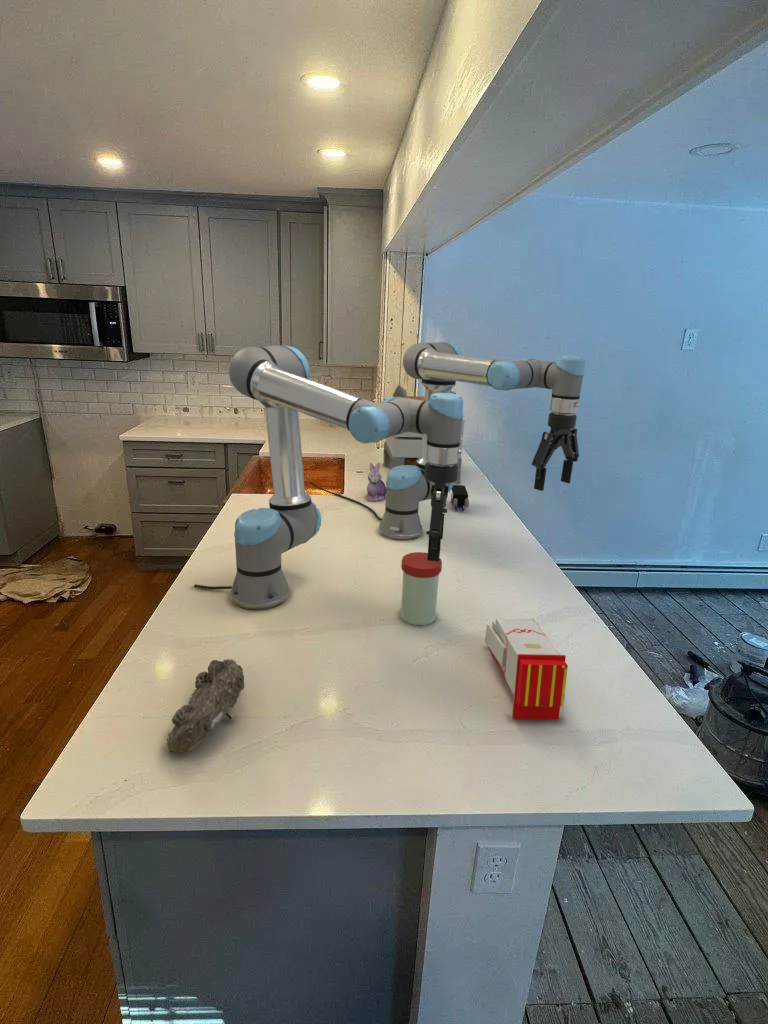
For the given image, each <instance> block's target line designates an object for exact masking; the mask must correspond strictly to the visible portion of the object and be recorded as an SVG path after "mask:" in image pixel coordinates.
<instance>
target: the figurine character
mask: <svg viewBox="0 0 768 1024" xmlns="http://www.w3.org/2000/svg"><path fill="white" fill-rule="evenodd" d="M449 502H450V504H451V506H452V507H453V508H454V511H456V512H457V511H458V509H461V511H462V512H464V511H465V508H469V505H470V500H469V492H468V490H467V488H466V485H464V484H463V485H461V484H453V487H452V489H451V494H450V501H449Z"/></svg>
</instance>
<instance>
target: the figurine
mask: <svg viewBox="0 0 768 1024" xmlns="http://www.w3.org/2000/svg"><path fill="white" fill-rule="evenodd" d="M380 469H381V462H378V463H376V465H375V466H374V464H373V462H370V463H369V473H368V475H367V480H368V481H369V482H368V483H367V485H366V492H367V493H366V495H365V496H366V499H367V501H371V502H378V501H383V500H384V499H386V483H385V482H384V481H383V480H382V475H381V473H380Z"/></svg>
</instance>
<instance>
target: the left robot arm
mask: <svg viewBox="0 0 768 1024" xmlns="http://www.w3.org/2000/svg"><path fill="white" fill-rule="evenodd" d="M310 374H311V370H310V365H309V362H308V360H307V358H306V356H305V355H304V354H303V353H302V352H301V351H300V350H299V349H297V348H296V347H294V346H291V345H284V344H283V345H281V344H278V345H265V346H247V347H245V348H242V349H240V350H238V351H237V352H236V353H235V354H234V355H233V357H232V358H231V360H230V363H229V367H228V375H229V376H228V377H229V379H230V382H231V384H232V386H233V387H234V388H235V390H237V391H238V392H239V393H240V394H242V395H243V396H244V397H245V396H246V397H247V398H250V399H252V400H256V401H258V402H259V403H260V404H261V405H263V406H264V412H265V421H266V422H265V423H266V431H267V439H268V450H269V452H268V453H269V459H270V461H269V462H270V469H271V480H272V490H273V495H272V496H271V497H270V498H269V499H268V505H269V507H259V508H258V509H256V508H253V509H250V510H247V511H245V512H243V513H241V514H240V515H238V516H237V517H236V519H235V522H234V533H233V537H234V547H235V548H234V549H235V562H236V563H235V564H236V573H235V575H234V579H233V583H232V585H221V586H220V585H219V586H212V585H211V586H210V585H203V584H196V583H195V584H194V585H193V587H194V588H198V589H203V590H204V589H205V590H230V600H231V602H232V603H233V605H235V606H237V607H239V608H241V609H246V610H251V611H252V610H253V611H254V610H255V611H258V610H259V611H260V610H268V609H272V608H276V607H277V606H280V605H282V604H284V603H285V602H286V601H287V600H288V599H289V596H290V589H289V588H290V587H289V583H288V580H287V578H286V577H285V574H284V571H283V570H282V554H284V553H286V552H288V551H290V550H292V549H294V548H296V547H298V546H301V545H303V544H306V543H307V542H309V541H310V540H311V539H313V538H314V537H316V536H317V534H318V533H319V531H320V530H321V526H322V516H321V512H320V509H319V508H317V505H316V503H315V502H314V501H312V496H311V495H309V493H308V492H306V486H305V474H304V473H305V472H304V463H303V450H302V439H301V438H302V437H301V427H300V416H299V415H300V414H299V413H302V414H304V415H307V416H308V417H312V418H314V419H317V420H320V421H321V422H322V421H323V422H324V423H327V424H330V425H332V426H335V427H338V428H341V429H342V430H346V431H348V432H349V433H350V434H351V436H352V437H353V439H354V440H356V441H357V442H359V443H361V444H370V443H371V444H374V443H379V442H381V441H383V440H385V439H386V438H389V437H391V436H395V435H398V434H401V433H404V432H412V433H419V434H426V435H427V443H426V457H425V460H426V461H427V463H426V464H425V475H424V476H425V479H426V480H428V481H430V482H434V483H435V485H432V488H431V499H430V507H431V511H430V519H429V530H426V531H425V535H426V536H428V543H427V553H428V556H427V560H428V561H438V562H439V558H440V555H441V542H442V540H443V539H444V526H445V515H446V514H448V508H446V506H447V500H448V496H449V492H448V490H449V486H446V483H453V482H455V481H456V480H457V476H458V465H457V463H458V461H459V454H461V455H462V454H463V449H462V450H459V448H460V439H461V440H462V438H461V429H462V420H463V419H464V398H463V397H462V396H461V395H460V394H458V393H456V394H453V393H433V394H431V396H430V399H429V401H423V400H416V399H409V398H402V397H399V396H398V397H392V396H386V397H384V398H383V400H382V401H380V403H377V402H373V401H371V400H368V399H365V398H362V397H360V396H357V395H354V394H351V393H348V392H346V391H342V390H340V389H337V388H334V387H332V386H329V385H325V384H323V383H320V382H318V381H315V380H311V379H310Z"/></svg>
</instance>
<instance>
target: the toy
mask: <svg viewBox="0 0 768 1024" xmlns="http://www.w3.org/2000/svg"><path fill="white" fill-rule="evenodd" d="M484 642H485V643H486V645H487V646H488V650H489V651H490V654H491V655H492V657H493V659H494V660H495V662H496V664H497V666H498V667H499V669H500V671H501V672H502V675H503V676H504V678H505V680H506V682H507V684H508V686H509V688H510V691H511V693H512V694H513V704H512V705H513V706H512V715H511V717H512V719H513V720H560V714H561V708H563V707H564V704H565V695H566V685H567V677H568V668H569V666H568V663H567V662H566V657H567V656H566V654H560V653H559V651H558V650H557V648H556V647H555V646H554V645H553V643H552V642H551V640H550V639H549V638H548V636H547V635H546V634H545V632H544V631H543V629H542V628H541V627H540V625H539V623H537V621H536V620H535V619H534V618H523V617H522V618H521V617H520V618H519V617H516V618H515V617H496V618H495V620H492V622H491V624H490V623H486V629H485V637H484Z"/></svg>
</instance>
